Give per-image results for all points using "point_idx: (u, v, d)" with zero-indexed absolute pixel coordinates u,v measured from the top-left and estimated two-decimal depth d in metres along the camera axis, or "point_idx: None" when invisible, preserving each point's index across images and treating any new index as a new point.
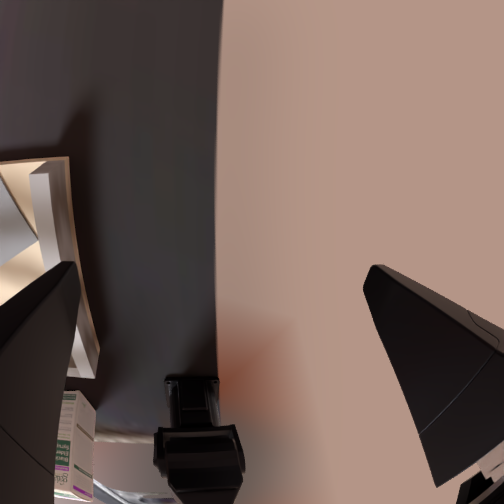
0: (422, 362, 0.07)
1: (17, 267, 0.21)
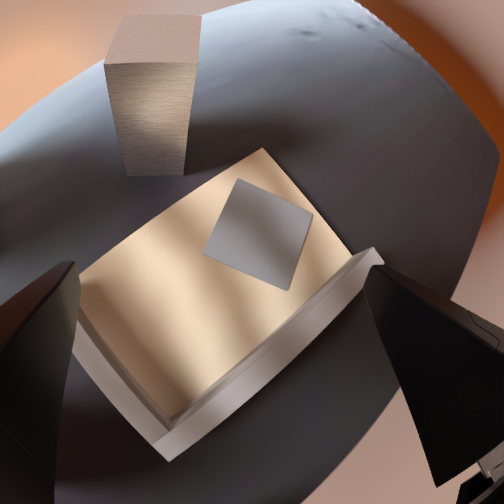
0: (422, 362, 0.07)
1: (228, 282, 0.21)
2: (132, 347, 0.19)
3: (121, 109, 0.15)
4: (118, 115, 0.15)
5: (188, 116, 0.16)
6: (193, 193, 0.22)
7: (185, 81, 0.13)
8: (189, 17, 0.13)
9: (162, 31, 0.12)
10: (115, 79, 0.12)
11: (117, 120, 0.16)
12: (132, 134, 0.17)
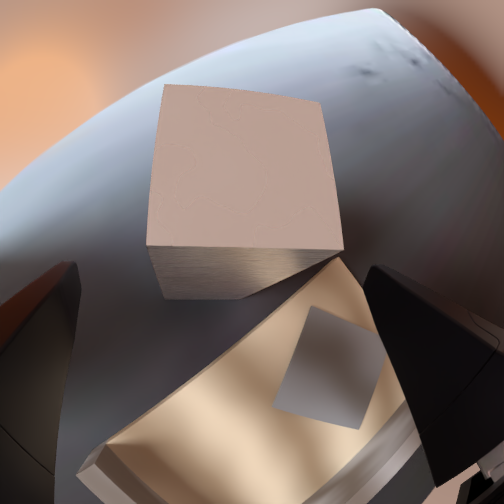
0: (422, 362, 0.07)
1: (300, 432, 0.16)
2: (194, 501, 0.14)
3: (172, 275, 0.10)
4: (166, 277, 0.10)
5: (282, 279, 0.11)
6: (258, 331, 0.17)
7: (304, 261, 0.08)
8: (301, 105, 0.08)
9: (260, 145, 0.07)
10: (170, 258, 0.07)
11: (163, 280, 0.11)
12: (185, 286, 0.12)
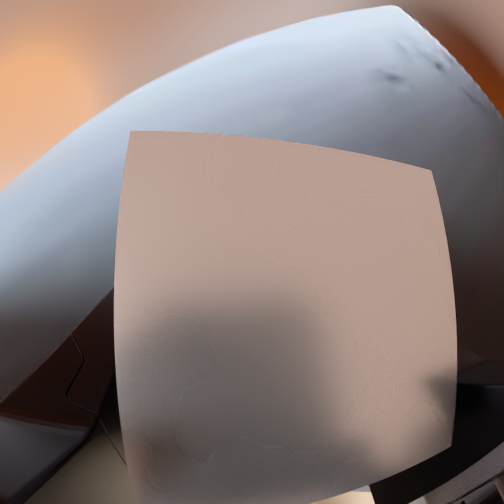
0: None
1: (320, 502, 0.12)
2: None
3: None
4: None
5: None
6: None
7: None
8: (408, 179, 0.04)
9: (350, 290, 0.03)
10: None
11: None
12: None
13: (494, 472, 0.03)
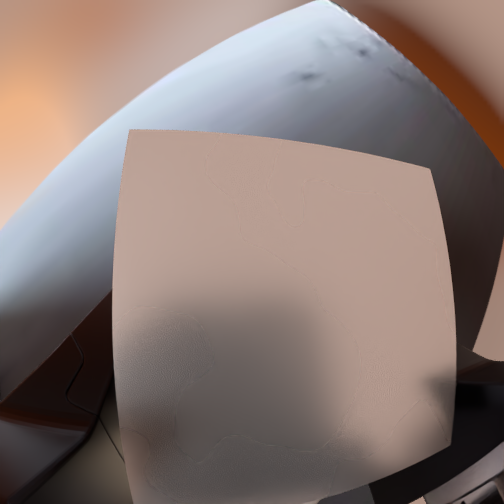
0: None
1: None
2: None
3: None
4: None
5: None
6: None
7: None
8: (406, 177, 0.04)
9: (348, 288, 0.03)
10: None
11: None
12: None
13: (494, 472, 0.03)
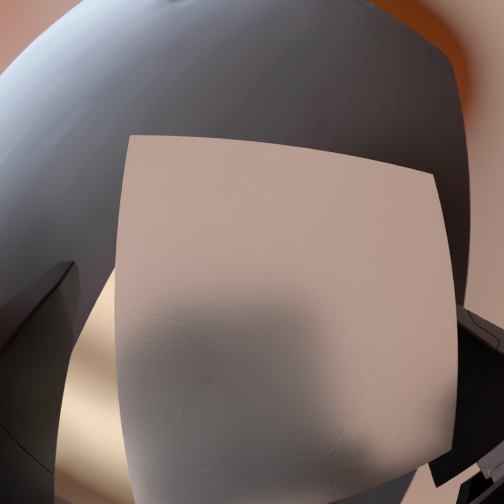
0: None
1: None
2: None
3: None
4: None
5: None
6: (95, 311, 0.14)
7: None
8: (409, 183, 0.04)
9: (351, 297, 0.03)
10: None
11: None
12: None
13: None
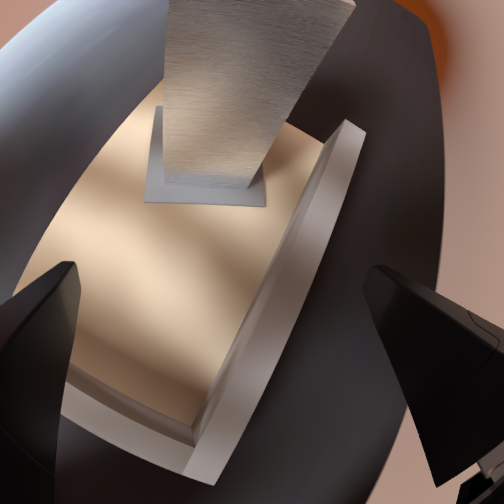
0: (422, 362, 0.07)
1: (189, 223, 0.16)
2: (105, 355, 0.13)
3: (181, 71, 0.08)
4: (173, 83, 0.08)
5: (296, 98, 0.10)
6: (110, 141, 0.16)
7: (320, 34, 0.07)
8: None
9: None
10: (188, 6, 0.06)
11: (169, 93, 0.09)
12: (190, 120, 0.10)
13: None
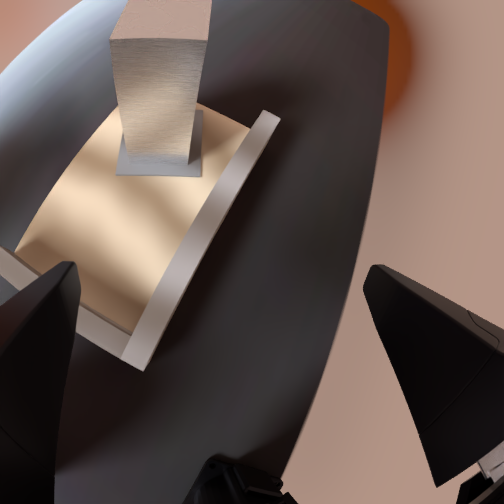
0: (422, 362, 0.07)
1: (145, 188, 0.21)
2: (81, 279, 0.19)
3: (125, 89, 0.14)
4: (122, 95, 0.14)
5: (195, 98, 0.15)
6: (95, 134, 0.21)
7: (194, 59, 0.12)
8: None
9: (172, 10, 0.11)
10: (121, 56, 0.11)
11: (121, 102, 0.15)
12: (136, 117, 0.16)
13: None
